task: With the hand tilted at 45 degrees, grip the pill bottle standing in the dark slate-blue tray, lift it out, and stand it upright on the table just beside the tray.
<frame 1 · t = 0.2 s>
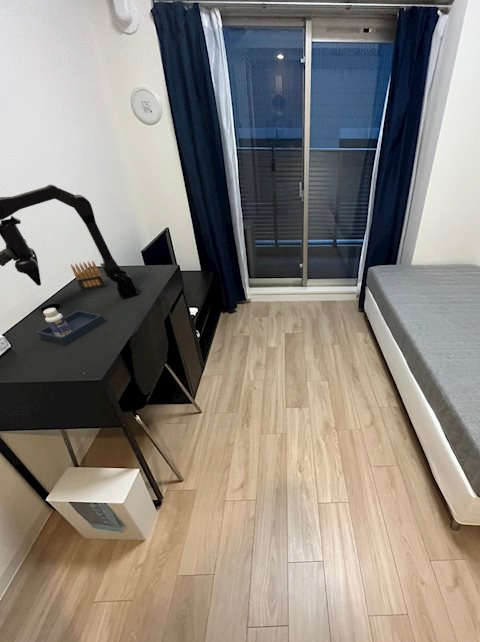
hand: (38, 281, 126), 15 cm above the table, tool pointing down, fingers open, 9 cm apart
ammunition clip: (94, 288, 156), on the table
pill bottle: (64, 334, 123), resting on tray
tray: (74, 329, 126), on the table
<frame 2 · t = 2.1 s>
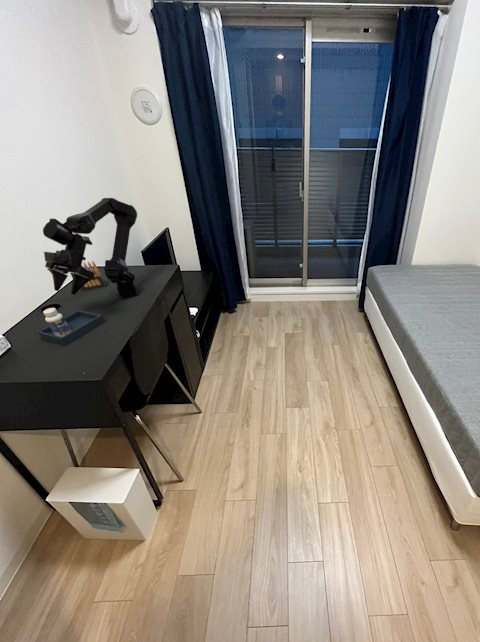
hand: (64, 292, 120), 13 cm above the table, tool tilted 45°, fingers open, 9 cm apart
nothing on the table moved.
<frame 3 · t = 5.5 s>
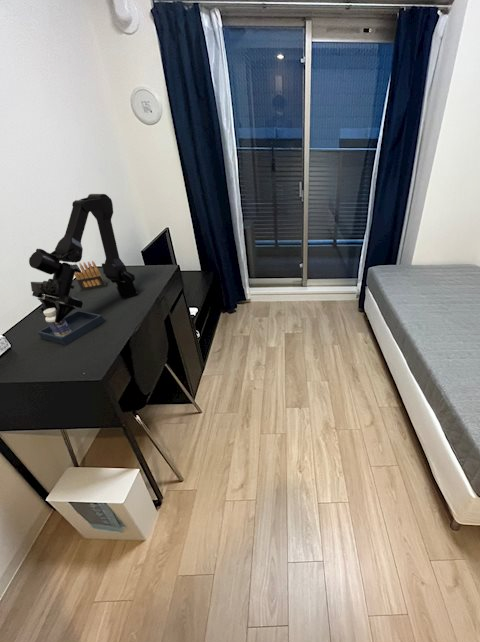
hand: (51, 321, 118), 7 cm above the table, tool tilted 45°, fingers closed on pill bottle, 5 cm apart
pill bottle: (64, 334, 123), resting on tray, touching gripper
everything else where it was.
when the fingers open (6 cm above the table, at t = 11.6 s): pill bottle stays where it is, on the table.
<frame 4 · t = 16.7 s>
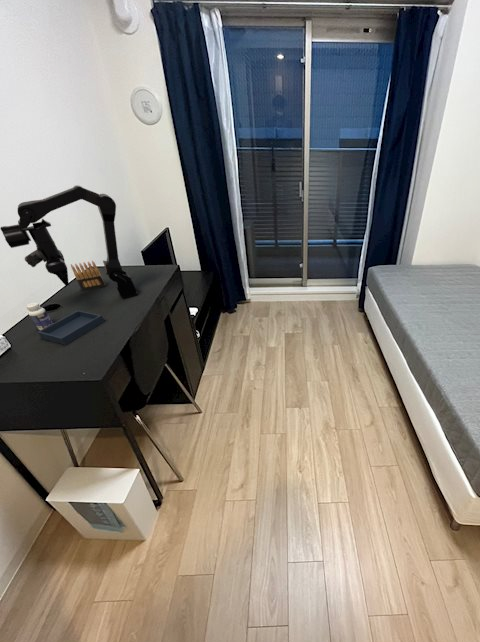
hand: (66, 281, 131), 12 cm above the table, tool pointing down, fingers open, 9 cm apart
pill bottle: (47, 327, 129), on the table
everything else where it was.
at the end: pill bottle inside the target area (0.2 cm from its centre), on the table; pill bottle tilted 0°; pill bottle touching table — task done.
